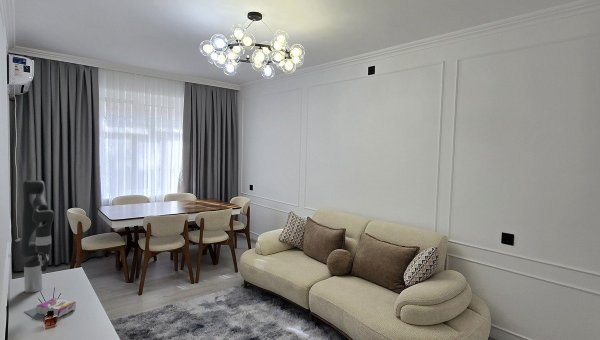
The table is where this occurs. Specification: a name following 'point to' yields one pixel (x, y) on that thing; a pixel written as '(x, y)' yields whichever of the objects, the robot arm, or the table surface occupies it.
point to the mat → (34, 314)
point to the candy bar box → (56, 307)
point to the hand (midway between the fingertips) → (43, 271)
